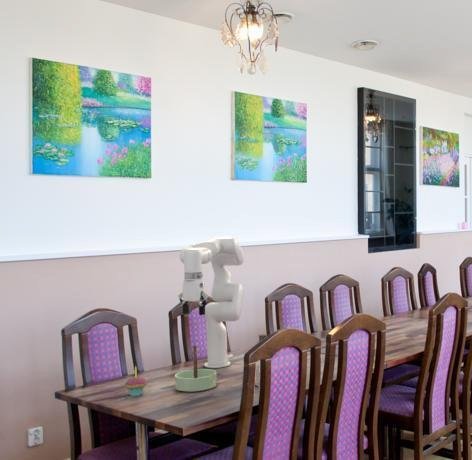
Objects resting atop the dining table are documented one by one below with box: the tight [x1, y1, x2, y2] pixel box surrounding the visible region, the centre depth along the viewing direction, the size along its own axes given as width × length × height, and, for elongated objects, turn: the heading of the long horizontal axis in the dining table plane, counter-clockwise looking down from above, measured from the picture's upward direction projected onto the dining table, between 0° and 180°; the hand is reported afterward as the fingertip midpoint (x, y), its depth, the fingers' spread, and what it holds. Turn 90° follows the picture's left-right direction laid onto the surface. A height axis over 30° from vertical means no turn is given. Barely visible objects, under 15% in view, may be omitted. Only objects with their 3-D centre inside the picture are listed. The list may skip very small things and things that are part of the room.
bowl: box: [174, 368, 218, 393], centre depth 279 cm, size 17×17×6 cm
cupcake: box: [124, 364, 148, 397], centre depth 269 cm, size 9×8×12 cm
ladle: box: [192, 344, 199, 378], centre depth 279 cm, size 5×5×18 cm
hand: (193, 314), depth 289 cm, fingers open, 9 cm apart
